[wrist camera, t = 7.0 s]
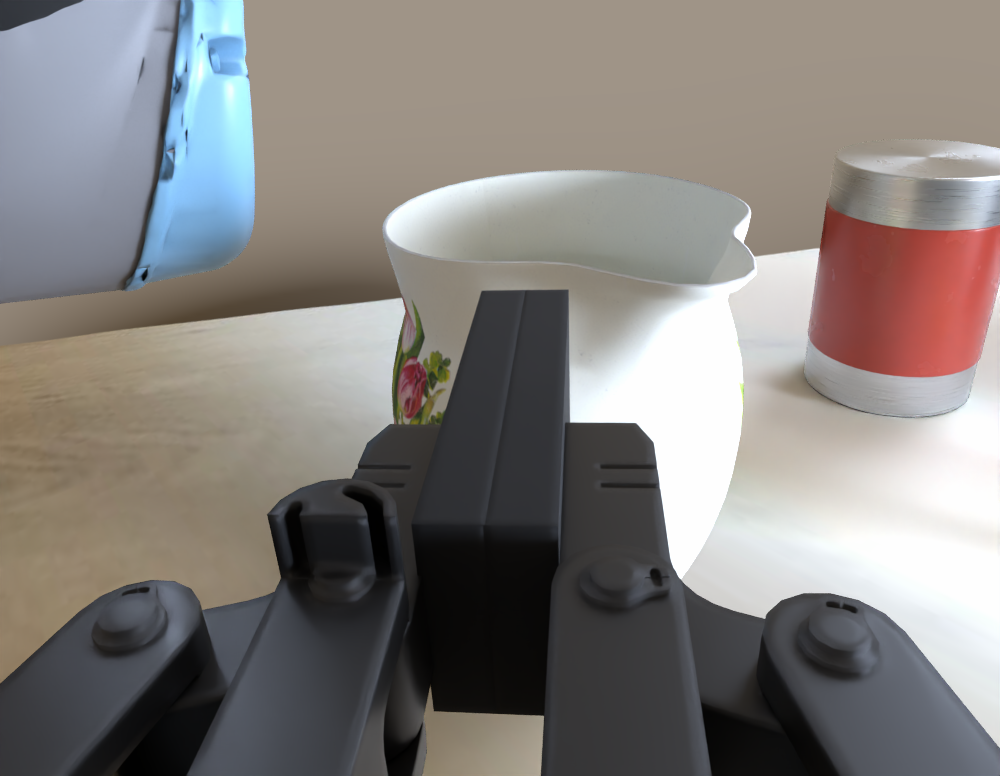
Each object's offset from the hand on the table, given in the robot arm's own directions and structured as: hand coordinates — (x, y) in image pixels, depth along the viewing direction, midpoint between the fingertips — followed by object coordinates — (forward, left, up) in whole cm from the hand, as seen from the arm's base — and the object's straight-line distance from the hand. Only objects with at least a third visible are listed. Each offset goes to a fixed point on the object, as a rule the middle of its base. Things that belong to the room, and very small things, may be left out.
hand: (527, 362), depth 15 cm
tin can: (+16, +25, -13) cm, 32 cm away
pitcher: (0, +11, -14) cm, 17 cm away
